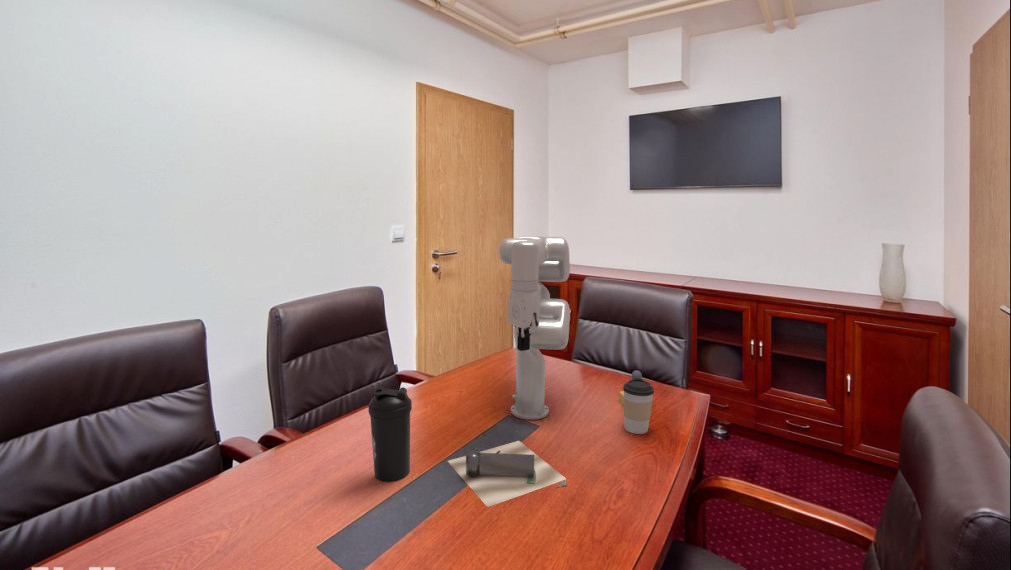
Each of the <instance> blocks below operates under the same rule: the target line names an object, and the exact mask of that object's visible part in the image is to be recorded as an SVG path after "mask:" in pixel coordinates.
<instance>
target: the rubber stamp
mask: <svg viewBox="0 0 1011 570" xmlns="http://www.w3.org/2000/svg"><path fill="white" fill-rule="evenodd" d="M642 375H643V374H642V373H641V371H639V370H634V371H632V373H631V380H633V379H642V380H643V376H642ZM623 396H624V390H620V391H619V393H618V402H619V403H620V404H621V405H622V406H623V407H624V399H623ZM652 399H653V397H652Z"/></svg>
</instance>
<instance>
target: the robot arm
mask: <svg viewBox="0 0 1011 570" xmlns="http://www.w3.org/2000/svg"><path fill="white" fill-rule="evenodd" d="M498 254H499V258H500V260H501V262H502V263H503V264H505V265H511V266H510V267H511V271H510V272H511V274H510V276H511V278H510V280H511V281H510V282H511V283H510V291H509V295H508V302H507V303H508V305H507V322H508V323H509V324H510V325H512V326H513V339H514V344H515V357H516V358H515V360H516V362H515V393H514V394H512V398H513V399H514V404H512V405H511V406H510V412H511V414H512V415H513V417H516V418H518V419H521V420H528V421H533V420H540V419H544V418H545V417H546V418H547V416H548V415H549V413H550V408H549V406H547V405H546V404H545V393H546V390H545V389H546V359H545V356H544V355H543V354H542V352H541V351H540V350H564V349H566V347H567V345H568V343H569V338H570V337H569V335H570V321H571V309H570V304H569V303H568V301H566V300H565V299H562V298H551V294H550V292H549V290H548V289H547V287H546V286H545V285H544V284H543V283H542V282H549V283H551V282H553V283H563V282H566V281H567V280H568V279H569V277H570V273H571V271H570V269H571V268H570V266H571V263H570V248H569V244H568V241H567V240H566V238H564V237H563V236H524V237H506V238H504V239H502V241H500V245H499V249H498Z"/></svg>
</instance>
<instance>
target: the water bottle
mask: <svg viewBox="0 0 1011 570" xmlns="http://www.w3.org/2000/svg"><path fill="white" fill-rule="evenodd" d="M372 396H373V397H372V398H371V400H370V401H369V403H368V405H367V406H368V407H367V408H368V409H367V410H368V414H369V417H370V428H371V429H370V431H371V432H370V433H371V444H372V445H371V446H372V456H373V457H372V459H373V460H372V461H373V469H374V471H373V472H374V478H375V479H377V480H379V481H380V482H383V483H393V482H398V481H401V480H404V479H405V478H406V477H407V476H408V475H409V474H410V470H411V411H412V409H413V407H412V405H413V402H412V401H413V400H412V399H411V398H410V397H409V395H408V390H407V388H405V387H403V386H402V387H400V388H399V389H393V388H386V387H380V386H379V387H376V388H375V389H374V390H373V392H372Z"/></svg>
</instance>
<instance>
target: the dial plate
mask: <svg viewBox="0 0 1011 570" xmlns="http://www.w3.org/2000/svg"><path fill="white" fill-rule="evenodd" d="M479 452H480V453H500V454H527V455H534V477H523V476H499V475H478V476H476V477H470V476H468V475H466V455H463V456H460V457H457V458H456V457H455V458H452V459H449V460H447V462H448V464H449V466H451V467H452V468H453V470H454V471H455V472H456V473H457V474H458V476H459V477H461V478H462V480H463V481H464V482H465V483H466V485H468V487H469V488H470V489H471V490H472V492H474V493H475V495H476V497H478V498H479V499H480V500H481V502H483V504H484V505H485V506H486V507H487V508H489V507H493V506H495V505H499V504H500V503H503V502H506V501H509V500H512V499H515V498H518V497H520V496H524V495H526V494H529V493H532V492H535V491H537V490H540V489H543V488H546V487H549V486H551V485H555V484H557V483H559V484H558V485H557V487H556V489H558V488H562V487H564V486H567V481H568V480H567V478H566V477H565V476H563V475H562V474H561V473H560V472H559V471H558V470H556V469H555V468H553V467H552V466H551V465H550V464H549V463H547V462H546V460H544V459H542V458H541V457H540V456H538V454H536V453H535V452H534V451H533V450H531V449H530V448H529V447H527V446H526V445H525V444H524V443H523V442H522V441H520V440H517V441H513V442H512V441H511V442H510V443H506V444H503V445H502V444H501V445H498V446H496V447H492V448H489V449H484V450H480V451H479Z"/></svg>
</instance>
